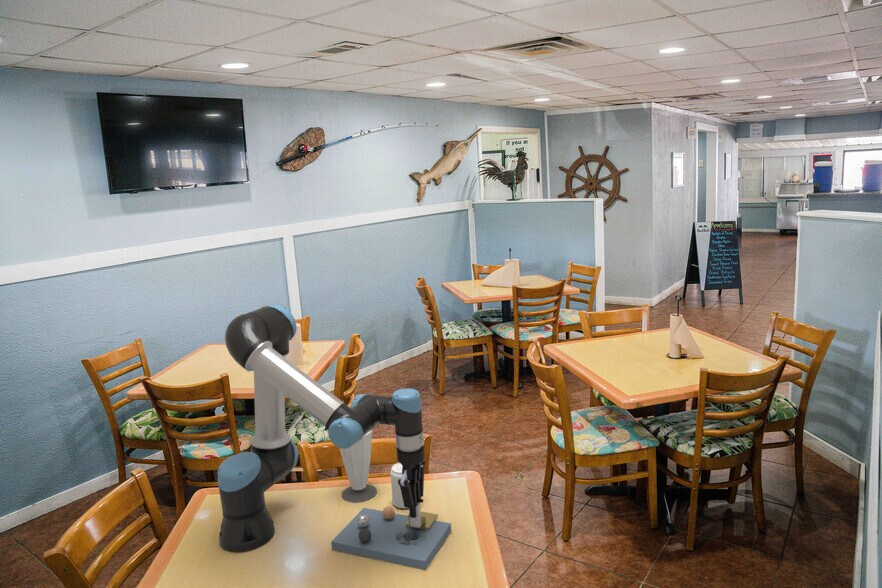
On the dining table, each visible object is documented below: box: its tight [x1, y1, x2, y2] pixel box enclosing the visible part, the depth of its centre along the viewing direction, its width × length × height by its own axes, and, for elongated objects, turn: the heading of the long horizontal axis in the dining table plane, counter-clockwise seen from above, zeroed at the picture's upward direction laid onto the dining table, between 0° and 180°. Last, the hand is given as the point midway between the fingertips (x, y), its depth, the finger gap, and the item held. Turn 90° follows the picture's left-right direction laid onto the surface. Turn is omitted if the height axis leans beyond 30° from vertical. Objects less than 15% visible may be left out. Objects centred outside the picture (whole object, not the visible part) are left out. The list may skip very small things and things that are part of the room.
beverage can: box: [390, 462, 408, 509], centre depth 188 cm, size 8×8×12 cm
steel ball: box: [357, 515, 369, 528], centre depth 173 cm, size 4×4×4 cm
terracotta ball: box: [382, 506, 396, 519], centre depth 176 cm, size 4×4×4 cm
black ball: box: [358, 529, 371, 542], centre depth 166 cm, size 4×4×4 cm
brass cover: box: [406, 510, 439, 530], centre depth 173 cm, size 7×7×4 cm
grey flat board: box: [331, 507, 452, 571], centre depth 170 cm, size 28×18×2 cm, turn 68°
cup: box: [339, 429, 378, 504], centre depth 194 cm, size 12×12×22 cm
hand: (415, 525), depth 170 cm, fingers closed
